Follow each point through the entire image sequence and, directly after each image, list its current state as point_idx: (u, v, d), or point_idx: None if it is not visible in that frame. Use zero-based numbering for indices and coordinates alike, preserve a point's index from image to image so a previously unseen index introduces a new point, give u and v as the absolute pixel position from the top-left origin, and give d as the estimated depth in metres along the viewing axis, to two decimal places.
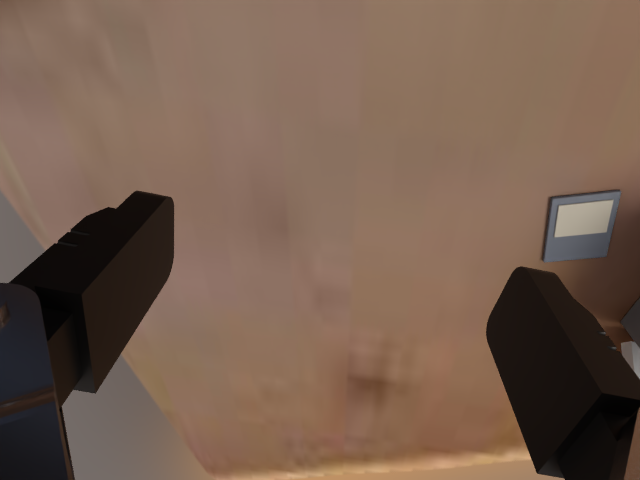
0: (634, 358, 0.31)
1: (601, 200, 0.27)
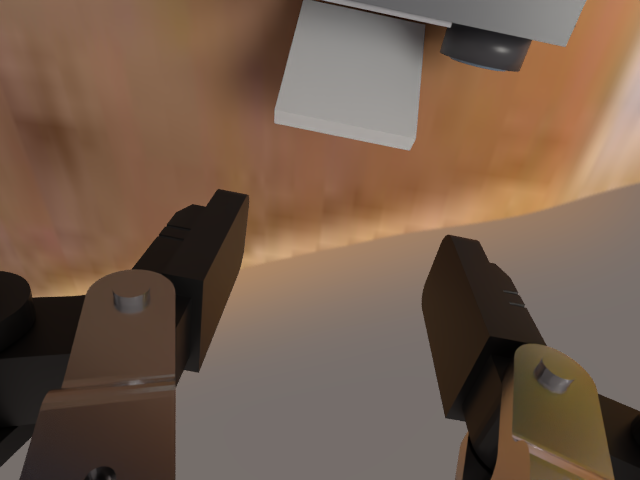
0: (302, 14, 0.23)
1: None
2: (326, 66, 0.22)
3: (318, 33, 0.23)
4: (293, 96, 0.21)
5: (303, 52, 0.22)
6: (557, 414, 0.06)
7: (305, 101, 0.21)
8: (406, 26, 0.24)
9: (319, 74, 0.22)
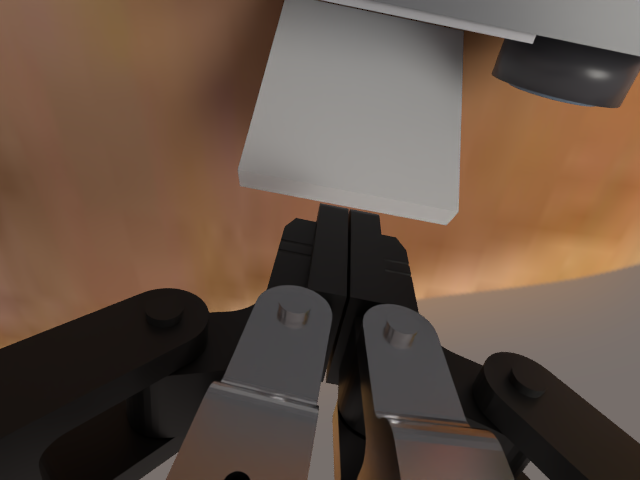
0: (284, 18, 0.16)
1: None
2: (319, 97, 0.14)
3: (307, 45, 0.15)
4: (267, 146, 0.13)
5: (284, 75, 0.15)
6: (385, 364, 0.06)
7: (286, 154, 0.13)
8: (437, 34, 0.16)
9: (308, 110, 0.14)
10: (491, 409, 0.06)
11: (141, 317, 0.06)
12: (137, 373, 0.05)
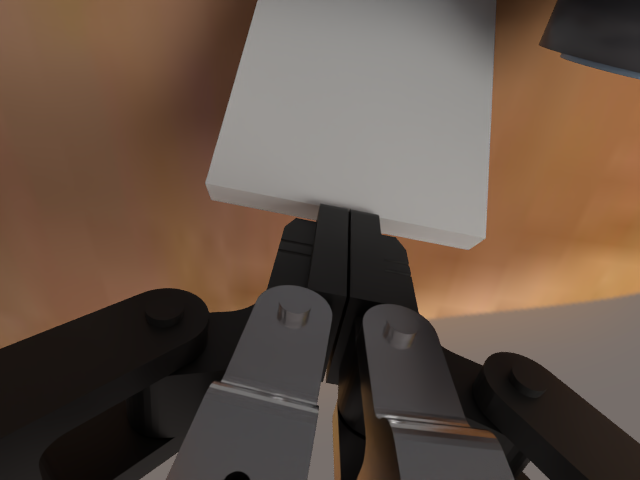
0: None
1: None
2: (311, 86, 0.11)
3: (298, 15, 0.12)
4: (244, 152, 0.11)
5: (267, 56, 0.12)
6: (385, 364, 0.06)
7: (268, 162, 0.11)
8: (462, 1, 0.13)
9: (298, 103, 0.11)
10: (491, 409, 0.06)
11: (141, 317, 0.06)
12: (136, 373, 0.05)
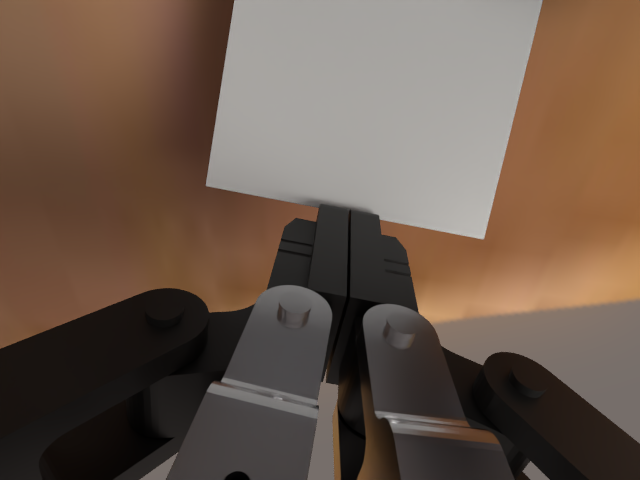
0: None
1: None
2: (312, 59, 0.10)
3: None
4: (242, 149, 0.10)
5: (262, 19, 0.10)
6: (385, 364, 0.06)
7: (266, 160, 0.10)
8: None
9: (297, 84, 0.10)
10: (491, 409, 0.06)
11: (141, 317, 0.06)
12: (137, 373, 0.05)
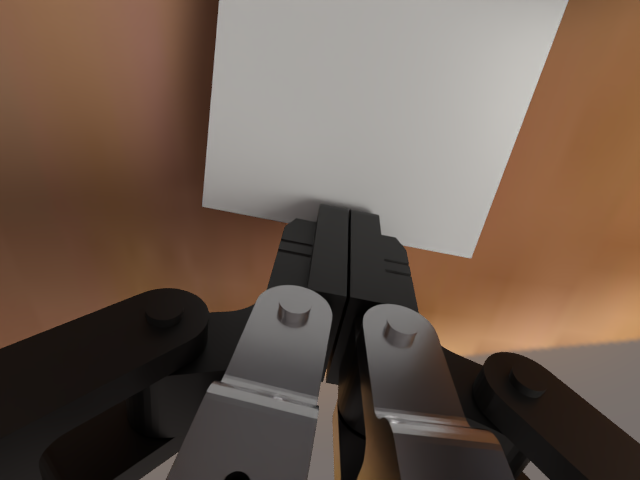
0: None
1: None
2: (304, 81, 0.09)
3: None
4: (235, 172, 0.10)
5: (248, 38, 0.09)
6: (385, 364, 0.06)
7: (259, 183, 0.10)
8: None
9: (288, 108, 0.10)
10: (491, 409, 0.06)
11: (141, 317, 0.06)
12: (137, 372, 0.05)
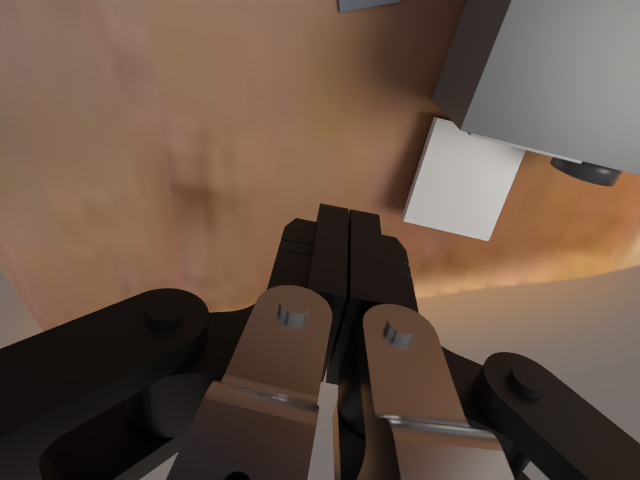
0: (433, 135, 0.31)
1: None
2: (442, 185, 0.32)
3: (442, 154, 0.31)
4: (416, 211, 0.33)
5: (428, 173, 0.32)
6: (385, 364, 0.06)
7: (423, 214, 0.33)
8: None
9: (436, 193, 0.32)
10: (491, 409, 0.06)
11: (141, 317, 0.06)
12: (137, 373, 0.05)
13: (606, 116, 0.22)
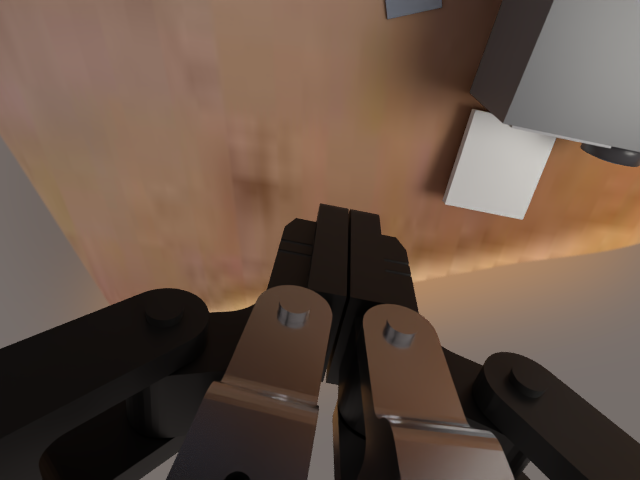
0: (472, 126, 0.34)
1: None
2: (480, 170, 0.35)
3: (480, 142, 0.35)
4: (456, 194, 0.36)
5: (467, 160, 0.35)
6: (385, 364, 0.06)
7: (463, 197, 0.36)
8: None
9: (475, 177, 0.36)
10: (491, 409, 0.06)
11: (141, 317, 0.06)
12: (137, 373, 0.05)
13: (633, 106, 0.26)
